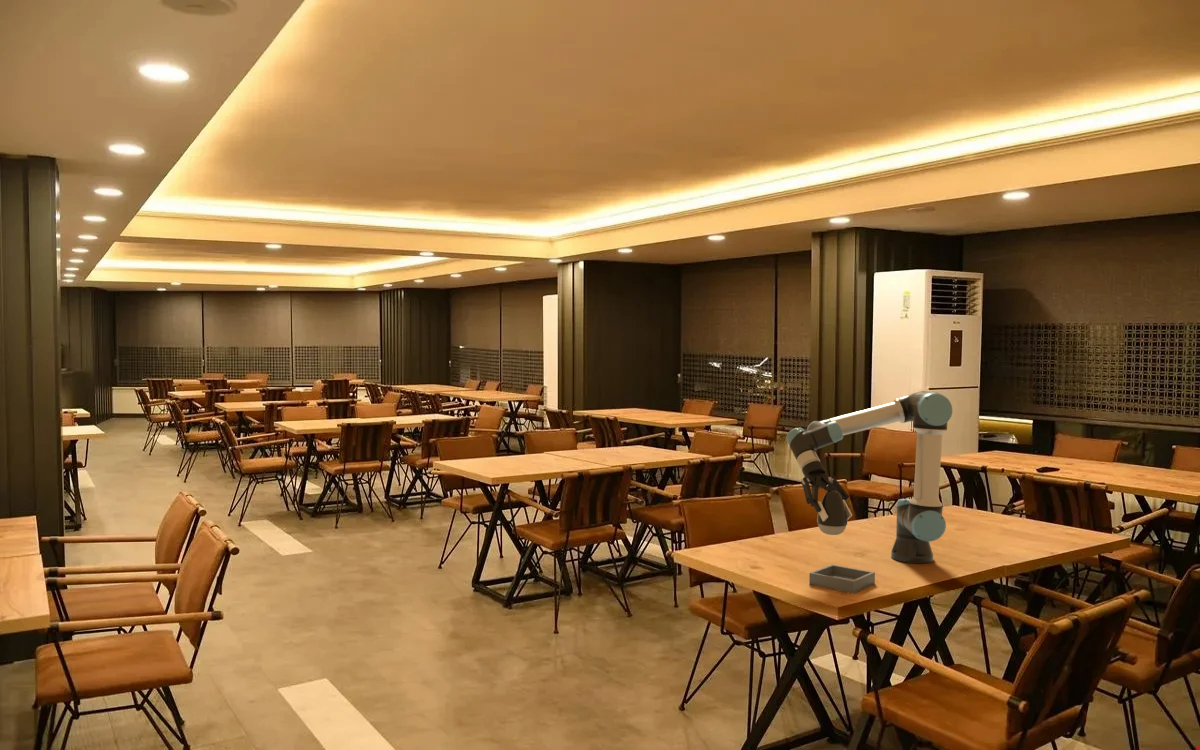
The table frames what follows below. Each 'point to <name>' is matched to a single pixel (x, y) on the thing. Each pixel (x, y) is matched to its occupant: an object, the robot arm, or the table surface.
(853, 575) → the grey tray
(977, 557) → the table surface
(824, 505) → the dark grey oval piece
